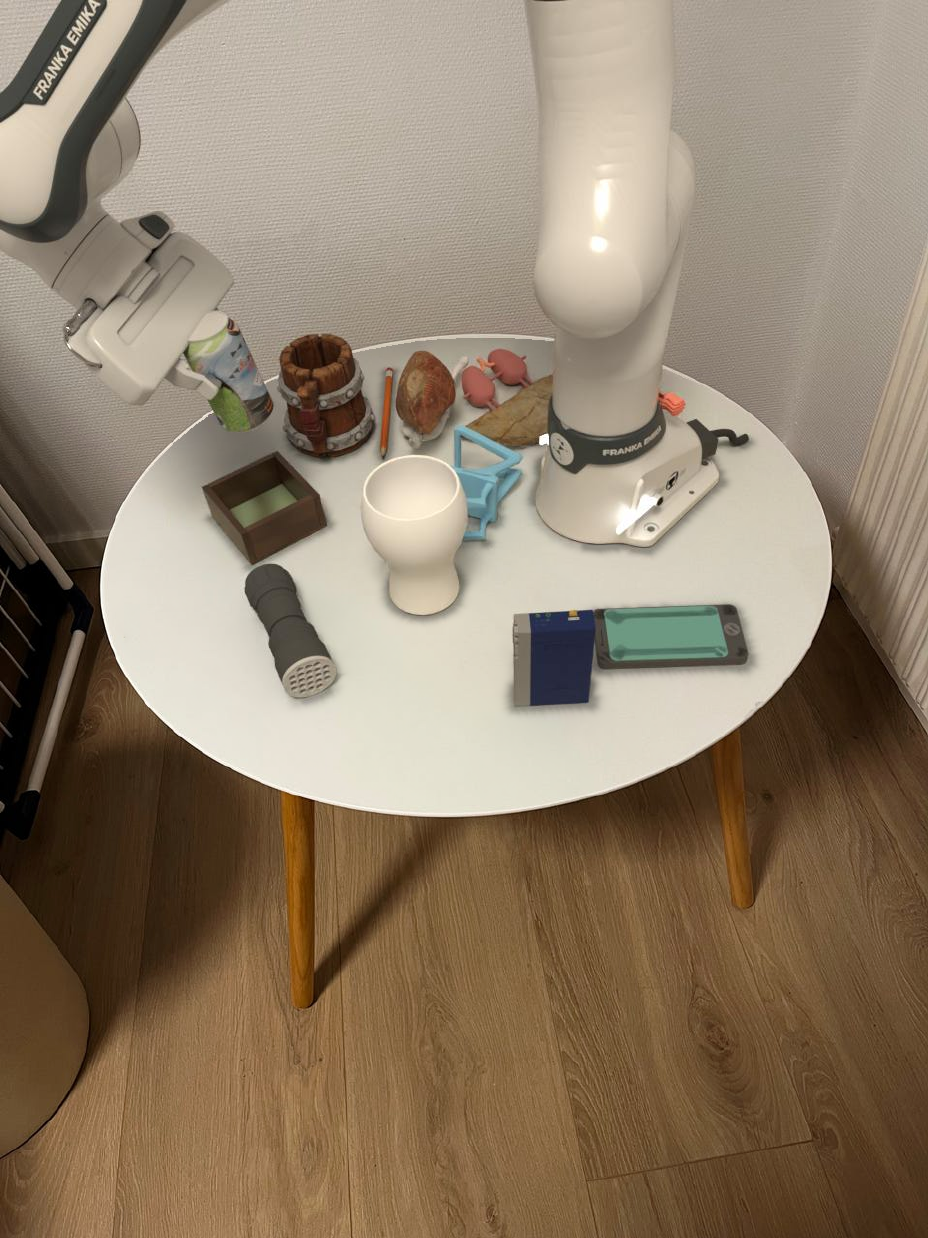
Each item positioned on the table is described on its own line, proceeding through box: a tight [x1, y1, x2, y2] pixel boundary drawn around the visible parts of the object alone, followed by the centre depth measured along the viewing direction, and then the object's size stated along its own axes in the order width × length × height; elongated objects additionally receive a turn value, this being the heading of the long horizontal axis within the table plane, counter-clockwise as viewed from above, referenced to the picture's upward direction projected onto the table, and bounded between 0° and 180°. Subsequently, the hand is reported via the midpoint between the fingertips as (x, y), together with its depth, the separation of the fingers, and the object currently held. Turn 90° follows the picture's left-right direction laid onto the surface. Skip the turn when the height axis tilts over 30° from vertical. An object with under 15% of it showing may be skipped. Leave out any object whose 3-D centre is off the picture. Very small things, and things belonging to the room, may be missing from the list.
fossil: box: [461, 374, 553, 447], centre depth 116 cm, size 21×13×2 cm, turn 135°
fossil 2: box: [395, 349, 457, 435], centre depth 112 cm, size 13×8×10 cm
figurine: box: [401, 356, 470, 450], centre depth 117 cm, size 7×4×18 cm
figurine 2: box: [460, 348, 534, 411], centre depth 120 cm, size 12×3×7 cm
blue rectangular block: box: [511, 609, 596, 708], centre depth 85 cm, size 7×2×12 cm, turn 92°
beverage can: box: [182, 310, 274, 433], centre depth 92 cm, size 6×7×12 cm
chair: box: [448, 424, 524, 542], centre depth 104 cm, size 8×8×12 cm
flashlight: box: [244, 563, 337, 698], centre depth 94 cm, size 15×5×5 cm, turn 25°
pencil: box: [379, 366, 394, 460], centre depth 119 cm, size 1×19×1 cm
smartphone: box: [593, 603, 750, 670], centre depth 93 cm, size 7×1×15 cm
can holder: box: [201, 450, 328, 566], centre depth 106 cm, size 10×10×5 cm
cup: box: [360, 454, 469, 616], centre depth 93 cm, size 11×11×15 cm
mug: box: [276, 333, 376, 458], centre depth 112 cm, size 12×14×15 cm
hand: (230, 372), depth 91 cm, fingers closed on beverage can, 5 cm apart
